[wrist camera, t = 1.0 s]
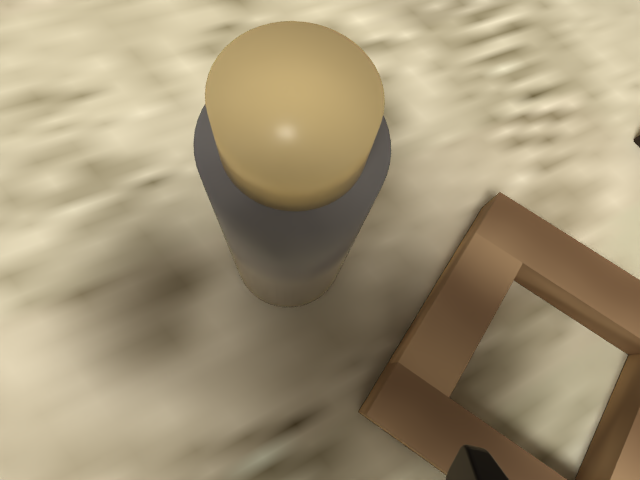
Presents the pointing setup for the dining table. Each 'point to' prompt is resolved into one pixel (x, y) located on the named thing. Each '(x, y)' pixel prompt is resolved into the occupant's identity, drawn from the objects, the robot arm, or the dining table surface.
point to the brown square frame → (474, 318)
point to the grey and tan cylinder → (292, 154)
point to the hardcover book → (637, 141)
